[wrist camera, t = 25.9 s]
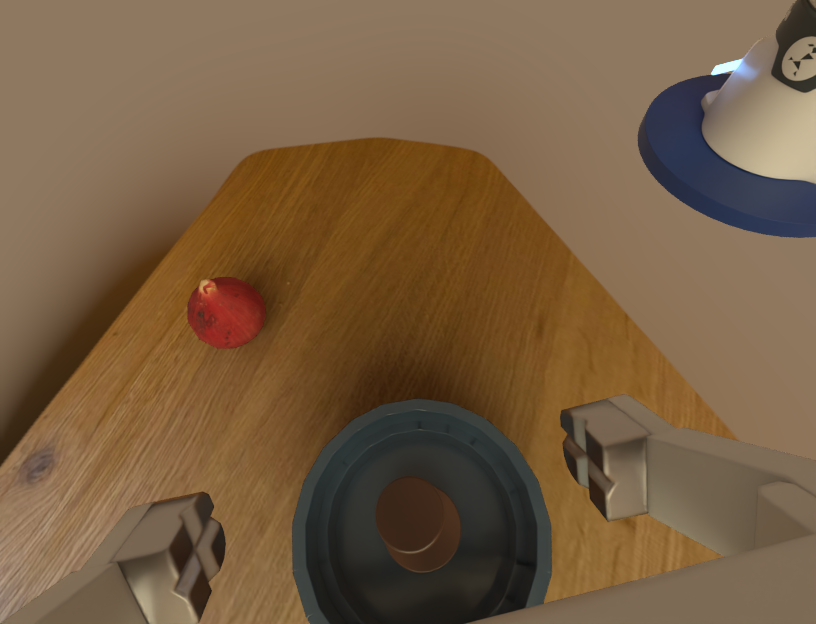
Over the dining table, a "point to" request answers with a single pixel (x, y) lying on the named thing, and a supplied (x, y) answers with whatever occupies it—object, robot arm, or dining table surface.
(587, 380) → the dining table surface
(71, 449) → the dining table surface
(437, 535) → the upright rod on disc
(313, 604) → the bowl
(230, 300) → the onion
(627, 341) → the dining table surface
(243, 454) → the dining table surface
